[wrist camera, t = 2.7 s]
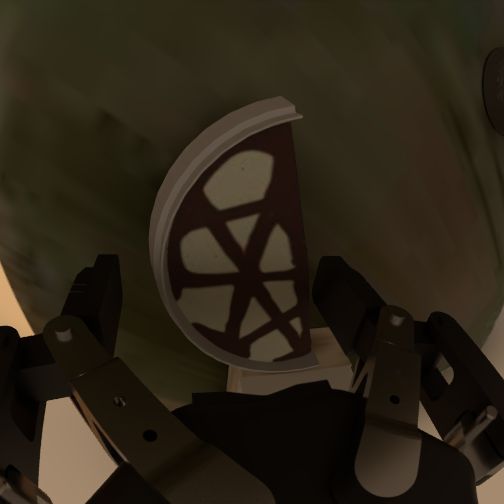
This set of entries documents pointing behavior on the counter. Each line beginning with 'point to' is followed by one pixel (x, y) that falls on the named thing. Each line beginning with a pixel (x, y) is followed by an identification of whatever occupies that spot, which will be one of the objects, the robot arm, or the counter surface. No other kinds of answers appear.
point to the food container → (237, 242)
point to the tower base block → (327, 358)
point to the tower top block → (295, 380)
